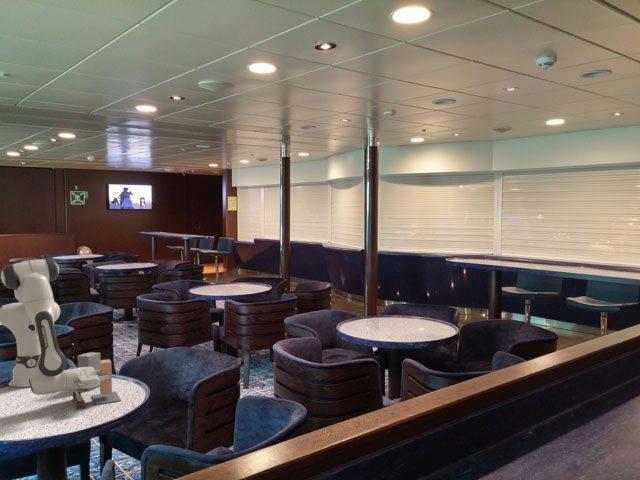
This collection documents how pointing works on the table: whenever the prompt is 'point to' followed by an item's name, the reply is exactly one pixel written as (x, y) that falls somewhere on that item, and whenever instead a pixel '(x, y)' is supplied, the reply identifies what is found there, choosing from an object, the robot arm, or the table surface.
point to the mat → (106, 398)
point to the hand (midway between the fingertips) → (107, 374)
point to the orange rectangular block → (106, 384)
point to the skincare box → (89, 362)
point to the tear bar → (78, 400)
